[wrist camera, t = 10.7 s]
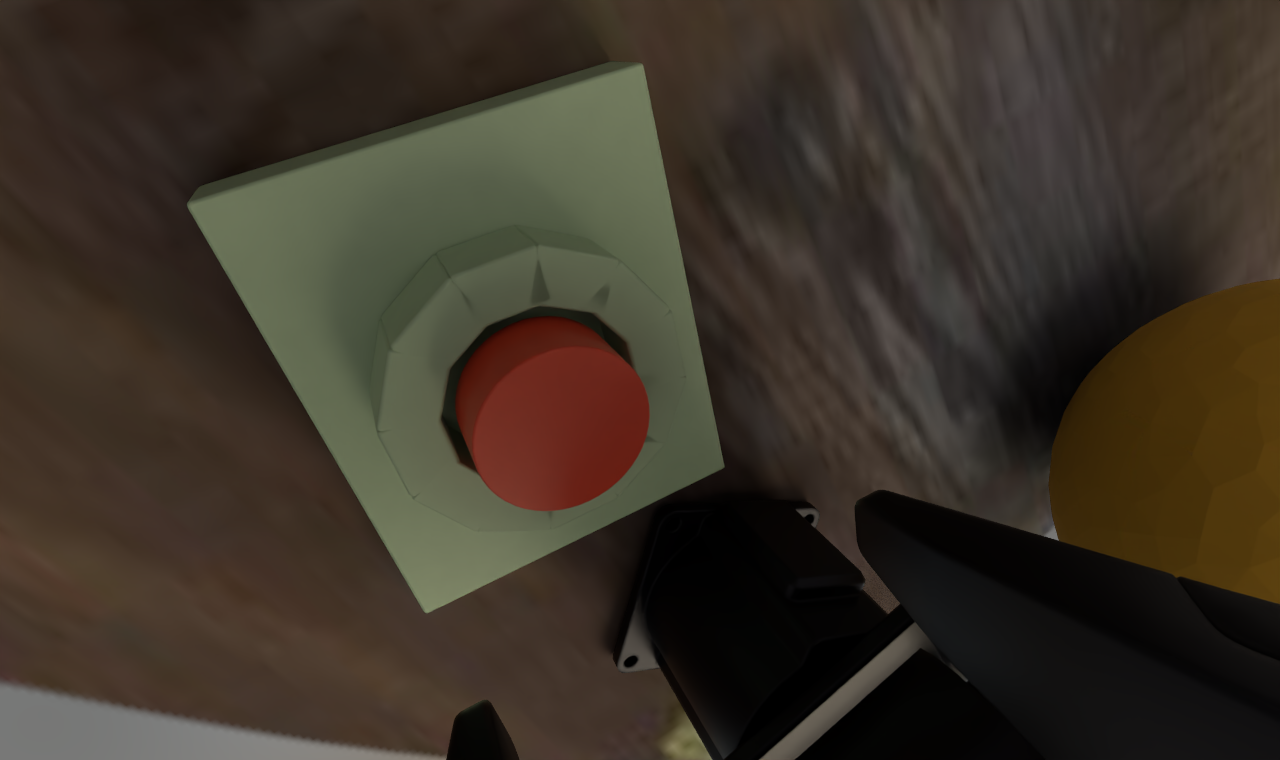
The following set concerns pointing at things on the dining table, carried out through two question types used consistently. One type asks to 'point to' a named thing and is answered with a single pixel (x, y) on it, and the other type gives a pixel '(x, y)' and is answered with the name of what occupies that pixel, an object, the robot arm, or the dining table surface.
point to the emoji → (1181, 445)
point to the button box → (470, 303)
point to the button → (550, 413)
